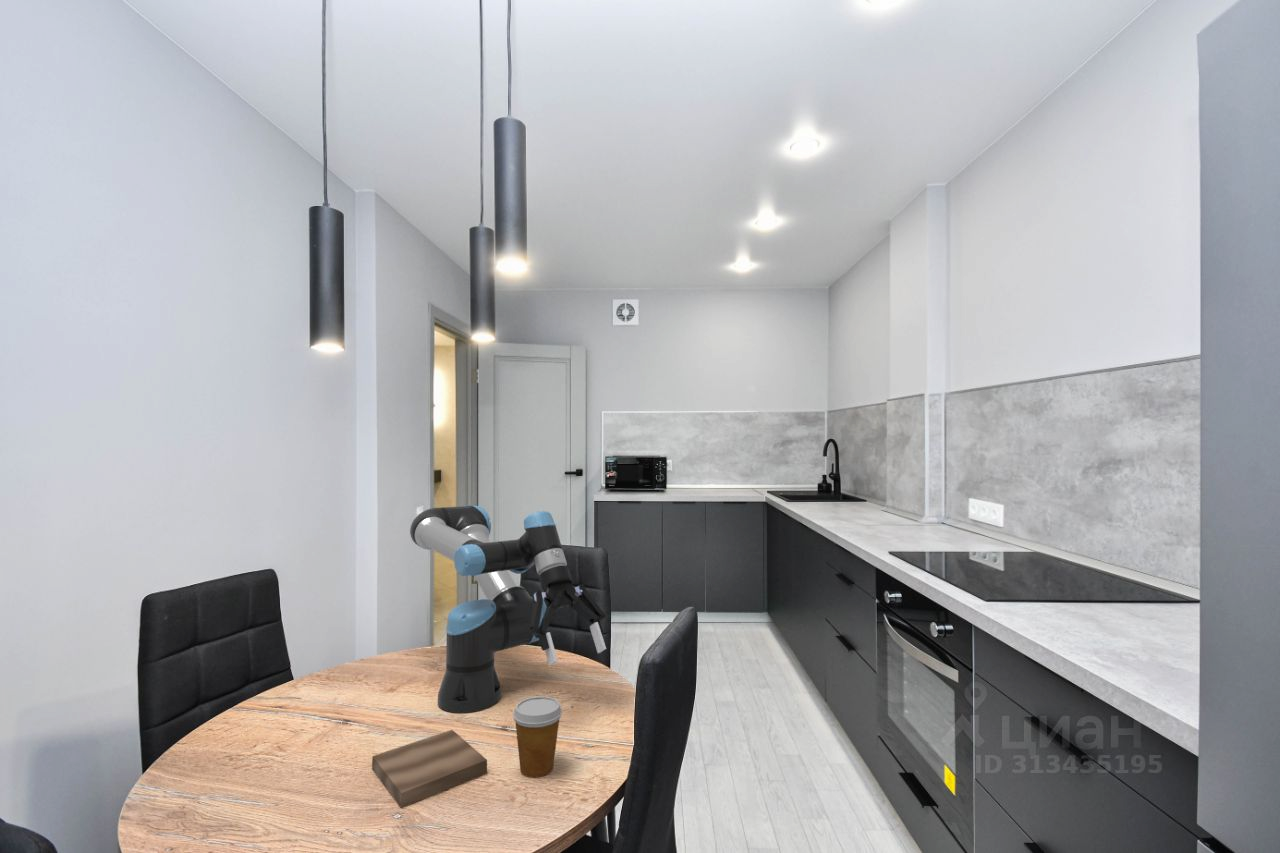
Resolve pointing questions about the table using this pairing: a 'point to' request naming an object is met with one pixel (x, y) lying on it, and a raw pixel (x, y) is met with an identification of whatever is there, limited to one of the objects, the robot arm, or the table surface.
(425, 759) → the walnut board
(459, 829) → the table surface
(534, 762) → the disposable coffee cup
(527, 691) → the table surface
